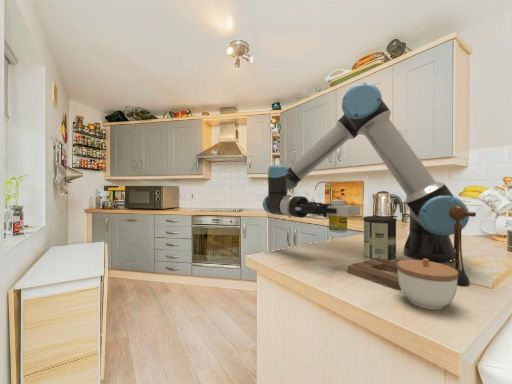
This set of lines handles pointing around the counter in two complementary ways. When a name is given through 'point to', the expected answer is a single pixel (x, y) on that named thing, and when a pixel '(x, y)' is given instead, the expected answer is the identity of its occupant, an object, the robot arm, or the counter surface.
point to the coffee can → (380, 238)
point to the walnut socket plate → (377, 271)
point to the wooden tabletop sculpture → (459, 242)
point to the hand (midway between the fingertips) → (353, 211)
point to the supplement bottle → (337, 219)
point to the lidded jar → (427, 283)
